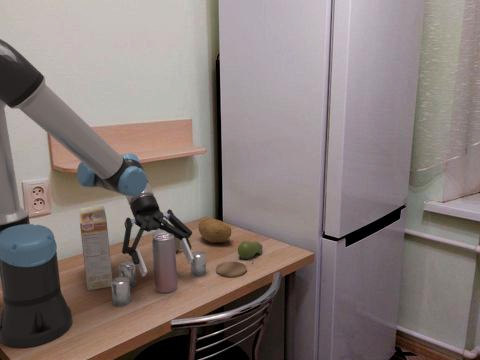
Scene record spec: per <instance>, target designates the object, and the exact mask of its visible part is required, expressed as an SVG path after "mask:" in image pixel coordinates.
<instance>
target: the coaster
mask: <svg viewBox="0 0 480 360" xmlns="http://www.w3.org/2000/svg"><path fill="white" fill-rule="evenodd" d="M215 272H216V274H217V275H218V276H220V277H224V278H238V277H241V276H244V275H245V274H246V273H247V265H245V264H244V263H242V262H239V261H225V262H222V263H219V264H218V265H216V267H215Z"/></svg>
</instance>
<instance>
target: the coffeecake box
mask: <svg viewBox="0 0 480 360" xmlns="http://www.w3.org/2000/svg"><path fill="white" fill-rule="evenodd" d="M79 226H80V236H81V245H82V246H81V247H82V255H83V266H84V274H85V282H86V290H87V291H92V290H94V291H95V290H97V289H98V290H99V289H104V288H110V287H111V281H112V280H113V272H112V271H113V270H112V263H111V250H110V241H109V231H108V221H107V215H106V210H105V206H104V205H103V206H102V205H101V206H93V207H92V206H91V207H88V206H87V207H81V208H79ZM111 288H112V287H111Z"/></svg>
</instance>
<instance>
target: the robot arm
mask: <svg viewBox="0 0 480 360" xmlns="http://www.w3.org/2000/svg"><path fill="white" fill-rule="evenodd" d="M6 106H7V107H9V108H10V109H16V110H17V109H19V110H20V111H21V112H22V113H23V114H25V116H27V117H28V118H29V119H30V120H31V121H33V122H34V123H35V124H36V125H37V126H39V127H40V128H41V129H42V130H44V132H46V133H47V134H48V135H49V136H51V137H52V138H53V139H54V140H55V141H57V143H59V144H60V145H61V146H62V147H63V148H65V149H66V150H67V151H68V152H70V154H72V155H73V156H74V157H76V158H77V160H79V161H80V162H79V164H78V166H77V170H76V178H77V181H78V184H79V185H80V186H82V187H84V188H91V189H93V188H100V189H104V190H108V191H110V192H114V193H118V194H119V195H122V196H124V197H126V200H127V203H128V205H129V206H130V207H129V208H130V211H131V213H132V216H133V218H131V217H126V218H125V220H124V228H125V230H124V231H125V232H124V237H123V243H122V248H121V253H122V254H123V255H126V254H128V256H130V257H131V260H132V262H133V263H134V264H135V266H136V265H137V266H138V269H139V272H140V275H141V277H146V275H147V273H148V270H147V267H146V264H145V262H144V261H145V260H144V258H143V256H142V254H141V251H140V249H137V247H138V245H139V242H140V241H141V239H142V236H143V234H144V231H145V232H147V233H149V232H152V231H156V230H158V228H159V229H161V230H164V231H166V232H168V233H170V234H173V235H174V237H176V238H178V239H179V240H181V242H180V245H181V247H182V249H181V250H182V251H183V254H184V257H185V258H186V259H185V260H186V261H187V263H188V264H191V262H192V260H193V259H194V257H193V255H192V253H193V252H192V251H191V250H192V243H191V242H190V240H189V239H190V237H191V236H192V235H193V231H192V230H191V229H190V228H189V227H187V225H186V224H184V222H182V221H181V219H179V218H178V217H177V216H176V215H175V214H174V213H173V211H172V209H170V208H169V209H168V210H166V211H165V212H162V211H161V209H160V206H159V204H158V201H157V199H156V197H155V194H154V192H153V188H152V187H151V184H150V183H149V180H148V177H147V174H146V172H145V169H144V167H143V164H142V162H141V161H140V159H139V157H138V156H137V155H136V154H134V153H132V152H131V153H130V152H128V153H122V154H119V153H118V152H117V151H116V150H115V149H114V148H113V147H112V146H111V145H110V144H109V143H108V142H107V141H106V140H105V139H104V138H103V137H102V136H100V135H99V133H97V131H95V130H94V129H93V128H92V127H91V125H89V124H88V123H87V122H86V121H85V120H84V119H83V118H81V116H80V115H78V113H76V112H75V111H74V110H73V109H72V108H71V107H70V106H69V105H68V104H67V103H66V102H65V101H64V100H63V99H62V98H61V97H59V96H58V95H57V94H56V92H54V91H53V90H52V89H51V88H50V87H49V86H48V85H47V84H46V76H45V75H44V74H43V73H41V72H40V71H39V70H38V69H37V68H36V67H35V66H34V65H33V64H32V63H31V62H30V61H29V60H28V59H27V58H25V57H24V56H23V54H21V52H19V51H18V50H17V49H16V48H14V47H13V46H12V45H11V44H9V43H8V42H6V41H5V40H3V39H1V38H0V285H1V291H2V298H3V308H2V311H1V317H0V342H1V343H2V344H3V345H6V346H8V347H11V348H28V347H35V346H38V345H43V344H46V343H48V342H51V341H53V340H56V339H57V338H59V337H61V336H63V335H64V334H65V333H67V332H68V331H69V330H70V328H71V326H72V324H73V313H72V309H71V308H70V306H69V305H68V303H67V301H66V299H65V297H64V295H63V293H62V289H61V287H62V286H61V281H60V280H61V279H60V269H59V261H58V254H57V253H58V252H57V248H58V246H57V242H56V239H55V235H54V232H53V231H52V230H51V229H50V228H49V227H47V226H45V225H41V224H32V223H31V222H30V217H29V211H27V210H26V209H24V208H22V207H21V203H20V197H19V191H18V185H17V178H16V172H15V166H14V160H13V154H12V149H11V141H10V135H9V129H8V124H7V123H8V121H7V117H6V111H5V108H6ZM134 225H136V226H137V227H139V229H138V231H137V234H136V236H135V238H134V240H133V243H132V245H131V246H130V240H131V233H132V229H133V227H134Z"/></svg>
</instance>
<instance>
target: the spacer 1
mask: <svg viewBox="0 0 480 360" xmlns="http://www.w3.org/2000/svg"><path fill="white" fill-rule="evenodd" d="M111 296H112V297H111V298H112V305H113V306H114V307H124V306H125V307H126V306H128V305H130V303H131V301H132V300H131V288H130V286H129V278H127V277H119V276H118V277H115V278H112V281H111Z"/></svg>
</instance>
